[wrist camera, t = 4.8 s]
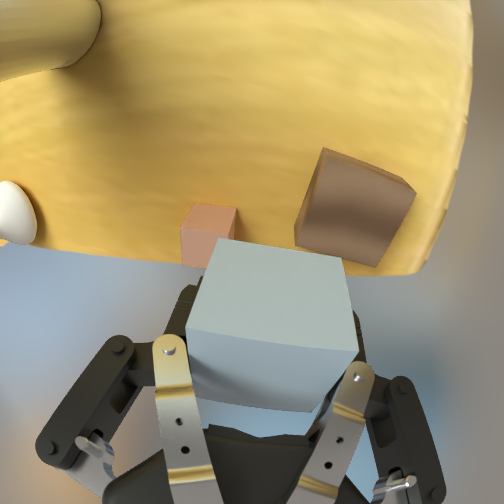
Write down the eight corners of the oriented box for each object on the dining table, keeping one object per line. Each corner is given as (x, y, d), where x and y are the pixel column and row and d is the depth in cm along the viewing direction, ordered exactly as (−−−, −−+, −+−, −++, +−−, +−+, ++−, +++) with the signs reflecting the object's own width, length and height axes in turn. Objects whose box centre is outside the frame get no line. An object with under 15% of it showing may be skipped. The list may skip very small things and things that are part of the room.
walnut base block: (322, 146, 24) (328, 158, 21) (401, 177, 24) (416, 193, 21) (294, 224, 29) (295, 245, 26) (367, 245, 30) (375, 267, 27)
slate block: (218, 237, 12) (185, 327, 8) (341, 257, 12) (359, 351, 8) (215, 318, 15) (194, 396, 11) (310, 333, 15) (311, 412, 11)
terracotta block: (194, 202, 29) (180, 227, 25) (236, 207, 29) (228, 233, 25) (195, 237, 31) (182, 265, 27) (234, 242, 31) (226, 271, 27)
